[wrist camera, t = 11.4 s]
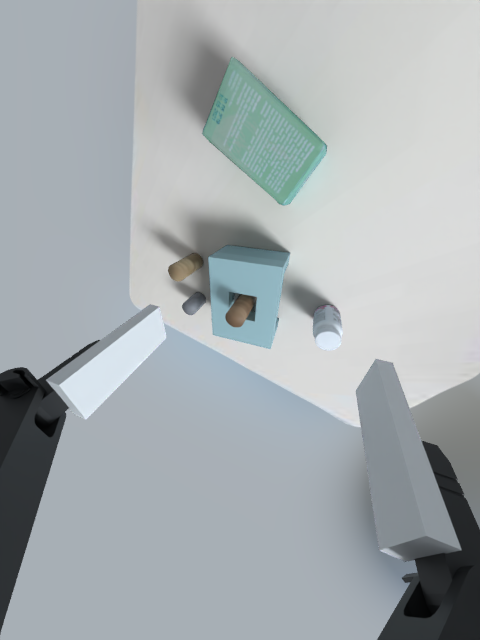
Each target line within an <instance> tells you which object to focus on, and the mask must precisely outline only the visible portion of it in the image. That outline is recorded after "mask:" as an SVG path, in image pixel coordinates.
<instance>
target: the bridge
mask: <svg viewBox="0 0 480 640" xmlns="http://www.w3.org/2000/svg"><path fill="white" fill-rule="evenodd" d="M289 257H290V253H288V252H280V251H271V250H263V249H255V248H247V247H239V246H230V245H226V246H225V247H223V248H222V249H220V250H218V251H217V252H215V253H214V254H212V255H211V256H209V257H208V260H209V277H210V294H211V311H212V328H213V335H215V336H219V337H223V338H227V339H231V340H236V341H240V342H244V343H248V344H252V345H256V346H260V347H264V348H268V349H271V346H272V343H273V339H274V336H275V333H276V330H277V327H278V321H279V318H277V315H278V308H279V302H280V296H281V290H282V284H283V278H284V273H285V270H286V268H287V266H288V262H289ZM235 293H239V294H244V295H250V296H255V297H257V303H256V312H251V311H250V313H249V315H248V317H247V318H246V320H245V322H244V324H243V325H242V326H241V327H232V326H231V325H229V324H228V323H227V321H226V319H225V315H226V313H227V312H228V310H229V309H230V308H231V306H232V305H233V304H234V299H235Z"/></svg>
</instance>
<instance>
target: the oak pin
mask: <svg viewBox="0 0 480 640" xmlns="http://www.w3.org/2000/svg"><path fill="white" fill-rule="evenodd" d="M202 265H203V259H202V257H201V256H200V255H199V254H197V253H193V254H191V255H189V256H187V257H185V258H183V259H181V260H180V261H178V262H176V263H174V264H172V265H170V266H169V269H168V272H169V275H170V277H171V278H172V279H173V280H175V281H182V280H183V279H185V278H186V277H187V276H189V275H190V274H192V273H193V272H195V271H196V270H198V269H199V268H201V267H202Z"/></svg>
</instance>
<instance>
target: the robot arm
mask: <svg viewBox="0 0 480 640" xmlns="http://www.w3.org/2000/svg"><path fill="white" fill-rule="evenodd" d="M165 339H166V333H165V329H164V324H163V320H162V315H161V311H160V307H159V306H154V305H149V306H147V307H146V308H144V309H143V310H142V311H140V312H139V313H138V314H136V315H135V316H133V317H132V318H131V319H129V320H128V321H126V322H125V323H124V324H122V325H121V326H120V327H119V328H117V329H116V330H114V331H113V332H111V333H110V334H109V335H107V336H106V337H104V338H103V339H102V340H98V341H95V342H93V343H91V344H89V345H87V346H86V347H84V348H83V349H81V350H80V351H79V352H78V353H76V354H74V355H73V356H72V357H71V358H69V359H67V360H66V361H64V362H63V363H61V364H60V365H59V366H57V367H56V368H54V369H53V370H52V371H50V372H49V373H47V374H46V375H44V376H43V377H42V378H40V379H38V380H37V379H36V378H35V377H34V376H33V375H32V374H31V372H29V370H28V369H27V368H23V367H20V368H14V369H10V370H7V371H5V372H3V373H1V374H0V632H1V629H2V625H3V622H4V619H5V615H6V612H7V609H8V606H9V602H10V599H11V595H12V592H13V589H14V586H15V583H16V579H17V576H18V573H19V570H20V566H21V563H22V560H23V557H24V553H25V550H26V547H27V543H28V540H29V537H30V534H31V530H32V527H33V524H34V520H35V517H36V514H37V510H38V507H39V504H40V501H41V497H42V494H43V491H44V487H45V484H46V481H47V478H48V475H49V471H50V468H51V465H52V461H53V458H54V455H55V451H56V448H57V444H58V442H59V438H60V435H61V431H62V429H63V425H64V422H65V419H66V413H65V411H66V410H67V409H68V408H69V409H70V410H71V411H72V412H73V413H74V415H77V416H79V417H81V418H84V419H87V418H88V417H89V416H90V415H91V414H92V413H93V412H94V411H95V410H96V409H97V408H98V407H99V406H100V405H101V404H102V403H103V402H104V401H105V400H106V399H107V398H108V397H109V396H110V395H111V394H112V393H113V392H114V391H115V390H116V389H117V388H118V387H119V386H120V385H121V384H122V382H124V381H125V380H126V379H127V378H128V377H129V376H130V374H131V373H132V372H133V371H134V370H135V369H136V368H137V367H138V366H139V365H140V364H141V363H142V362H143V361H144V360H145V359H146V358H147V357H148V356H149V355H150V354H151V353H152V352H153V351H154V350H155V349H156V348H157V347H158V346H159V345H160V344H161V343H162V342H163V341H164V340H165ZM356 396H357V403H358V410H359V417H360V423H361V430H362V437H363V443H364V450H365V457H366V464H367V471H368V478H369V484H370V490H371V497H372V505H373V512H374V517H375V525H376V532H377V538H378V546H379V550H380V551H382V552H384V553H386V554H389V555H391V556H393V557H395V558H398V559H400V560H402V561H405V562H406V561H411V560H415V562H416V566H417V571H418V573H412V574H406V575H405V576H404V577H402V579H403V580H404V582H405V583H407V582H411V583H410V585H409V586H408V588H407V590H406V591H405V593H404V595H403V596H402V598H401V600H400V601H399V603H398V605H397V607H396V608H395V610H394V612H393V613H392V615H391V617H390V619H389V620H388V622H387V624H386V625H385V627H384V629H383V631H382V632H381V634H380V636H379V637H378V640H480V529H479V527H478V525H477V522H476V520H475V518H474V516H473V513H472V511H471V509H470V507H469V504H468V502H467V500H466V498H464V493H463V491H462V488H461V486H460V484H459V483H458V482H457V480H458V479H457V477H456V475H455V473H454V470H453V468H452V466H451V463H450V462H449V460H448V459H447V458H446V457H445V455H444V454H443V453H442V451H441V450H440V449H439V447H438V446H437V445H434V444H430V443H427V442H424V441H421V438H420V436H419V433H418V430H417V427H416V425H415V422H414V419H413V417H412V414H411V411H410V409H409V406H408V403H407V400H406V398H405V395H404V392H403V390H402V387H401V384H400V381H399V379H398V376H397V373H396V371H395V368H394V365H393V363H391V362H387V361H383V360H379V359H375V361H374V363H373V364H372V366H371V367H370V369H369V371H368V372H367V374H366V375H365V377H364V379H363V380H362V382H361V383H360V385H359V387H358V388H357V390H356Z"/></svg>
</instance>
